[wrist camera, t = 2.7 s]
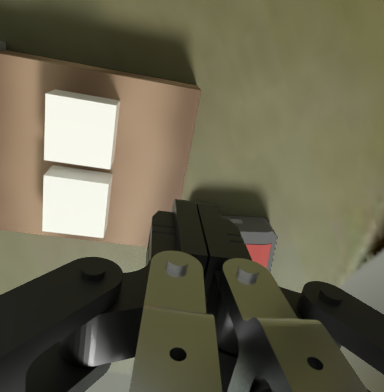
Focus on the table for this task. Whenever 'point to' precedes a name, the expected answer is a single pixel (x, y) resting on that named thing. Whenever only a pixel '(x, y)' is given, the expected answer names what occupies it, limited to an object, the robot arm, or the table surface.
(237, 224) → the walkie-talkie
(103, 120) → the tile
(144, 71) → the table surface
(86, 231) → the tile
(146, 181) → the tan flat block
